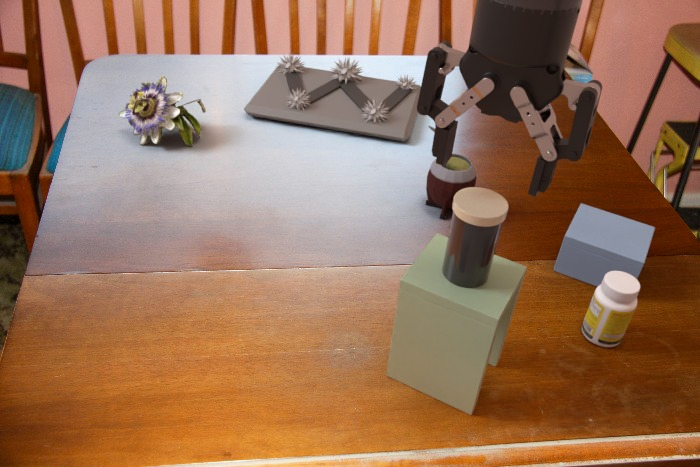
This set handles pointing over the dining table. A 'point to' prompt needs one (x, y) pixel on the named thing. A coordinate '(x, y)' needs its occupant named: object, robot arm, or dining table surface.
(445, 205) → the mate gourd
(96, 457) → the dining table surface
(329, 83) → the spiky constellation board
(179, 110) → the passion flower
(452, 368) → the notched sage green block
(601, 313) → the supplement bottle
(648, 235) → the blue grey block
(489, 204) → the spice jar
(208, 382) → the dining table surface
